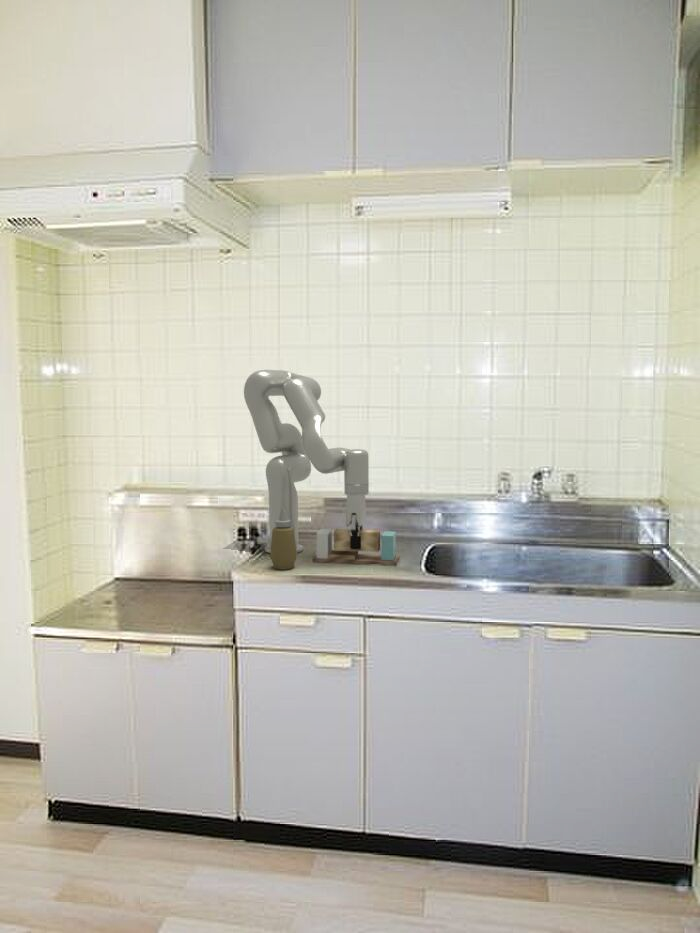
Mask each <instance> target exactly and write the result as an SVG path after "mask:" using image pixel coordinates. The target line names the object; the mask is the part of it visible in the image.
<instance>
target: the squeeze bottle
mask: <svg viewBox="0 0 700 933" xmlns="http://www.w3.org/2000/svg"><path fill="white" fill-rule="evenodd" d="M275 526H276V527H275V528H273V530H272V541H271V552H270V553H269V557H270V560H271V563H272V566H273V568H274V569H277V570H290V569H293V568H294V566H295V562H296V560H297V556H298V555H297V554H298V553H297V551H296V542H295V533H294V529H293V528H292V527H290V526H291V520H287V515H286V511H285V508H282V509H281V512H280V517H279V520H276V521H275Z"/></svg>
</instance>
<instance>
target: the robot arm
mask: <svg viewBox="0 0 700 933" xmlns="http://www.w3.org/2000/svg"><path fill="white" fill-rule="evenodd" d="M321 395H322V388H321V385H320V384H319V383H318V381H317V380H315V379H314V378H313V377H312V378H311V377H308V376H305V375H301V374H298V373H294V372H291V371H288V370H282V369H281V370H279V369H278V370H276V369H275V370H274V369H261V370H256V371H254V372H252V373H251V374H250V375H249V376H248V377H247V378H246V381H245V383H244V386H243V396H244V401H245V404H246V406H247V410H249V413H250V417H251V418H252V423H253V426H254V428H255V431H256V434H257V437H258V440H259V443H260V447H261V448H262V450H263V451H265V453H268V454H277V453H281V455H278V456H275V457H272V458H271V459H270V460H269V461H268V463H266V467H265V478H266V482H267V489H268V517H269V518H268V519H269V520H268V525H269V527H268V528H269V531H268V532H269V536H266V537H262V536H261V537H260V536H258V537H257V538H256V539H257V543H258V544H259V545H266V546H265V547H264V551H265V552H266V553H268V554H270V552H271V541H272V530H273V528H275V527H276V526H275V521H276V520H279V517H280V512H281V509H282V508H285V511H286V515H287V520H291V526H290V527H292V528H293V529H294V533H295V542H296V551H297V554H298V553H301V552H302V551H303V550H304V546H303V545H301V544H299V496H298V492H297V488H296V485H295V483H299V482H302V481H305V480H307V478H308V477H309V476H310V475H311V472H312V466H313V467H314V469H315V470H316V471H318V472H319V473H320V474H325V475H327V474H328V475H329V474H333V473H337V472H343V471H344V472H343V473H344V475H343V476H344V495H346V502H345V503H346V504H345V526H346V527H349V526H350V529H351V534H350V535H351V536H350V548H351V549H361V536H360V530H364V524H365V522H366V517H367V516H366V513H367V511H366V510H367V508H366V507H367V506H366V504H367V503H366V502H367V501H366V495H369V486H370V485H369V484H370V483H369V476H370V475H369V474H370V473H369V471H370V470H369V469H370V468H369V466H370V465H369V452H368V451H367V450H365V449H360V448H359V449H357V448H355V449H350V448H346V447H334V448H333V447H332V448H328V446H327V445H326V443H325V441H324V439H323V436H322V434H321V427H322V424H323V423H324V422H325V420H326V413H325V412H324V410H323V409H322V408H321V405H320V404H319V402H318V401H319V400H320V398H321ZM270 396H271V397H273V396H274V397H275V396H276V397H277V396H279V397H284V399H285V400H286V402H287V404H288V407H289V408H290V410H291V411H292V413H293V415H294V417H295V418H296V421H297V422H298V424H299V426H300V427H301V432H300V429H298V427H296V426H295V425H294V424H292V423H287V422H285V423H282V421H281V419H280V416H279V413H278V410H277V408H276V406H275V405H274V404H273V402H272V400H270V398H269V397H270ZM357 529H358V530H357Z"/></svg>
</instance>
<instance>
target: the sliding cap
mask: <svg viewBox="0 0 700 933" xmlns="http://www.w3.org/2000/svg"><path fill="white" fill-rule="evenodd" d="M381 555H382V560H391V561H393V560H394V558H395V556H397V532H396V531H391V530H390V531H387V530H385V531H384V532H383V533H382V535H381Z"/></svg>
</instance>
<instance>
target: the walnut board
mask: <svg viewBox="0 0 700 933" xmlns="http://www.w3.org/2000/svg"><path fill="white" fill-rule="evenodd" d="M399 560H400V555H396V556H395V558H394V560H393V561H391V560H382V554H368V553H367V554H365V553H359V551H343V550H334V549H332V554H328V559H325V558H317V554H316V555H315V556H313V557H312V562H313V563H326V562H334V563H333V564H348V563H353V565H354V564H355V565H356V564H357V565H370V564H381V565H380V566H392V565H396V566H397V565H398V563H399Z"/></svg>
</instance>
